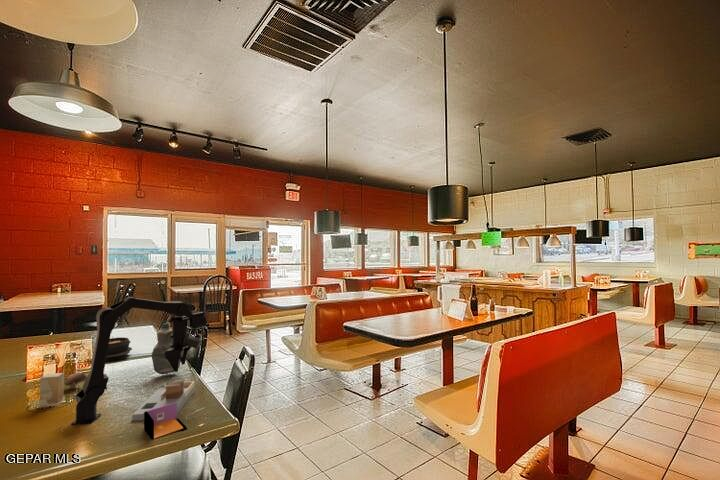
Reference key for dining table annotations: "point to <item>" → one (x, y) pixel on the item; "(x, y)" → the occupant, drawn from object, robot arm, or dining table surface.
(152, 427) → the toy room diorama
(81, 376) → the mushroom
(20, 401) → the dining table surface
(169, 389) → the block
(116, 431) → the dining table surface
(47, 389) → the skincare box
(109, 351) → the casserole
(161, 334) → the detergent
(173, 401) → the deck
